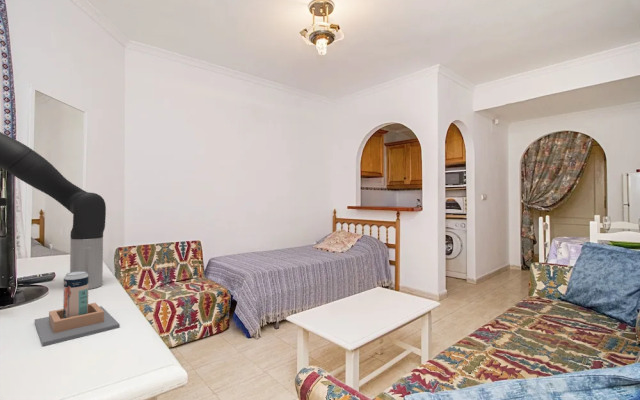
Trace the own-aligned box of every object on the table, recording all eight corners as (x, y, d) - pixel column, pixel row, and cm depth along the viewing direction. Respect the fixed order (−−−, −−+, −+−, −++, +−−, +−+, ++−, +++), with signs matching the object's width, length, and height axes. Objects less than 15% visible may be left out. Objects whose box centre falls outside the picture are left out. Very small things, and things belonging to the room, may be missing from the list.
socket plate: (34, 322, 78) (34, 309, 78) (101, 309, 88) (101, 297, 88) (42, 346, 66) (42, 330, 66) (119, 327, 76) (119, 313, 76)
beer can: (67, 319, 78) (68, 271, 78) (90, 316, 80) (91, 270, 80) (59, 326, 74) (60, 276, 74) (84, 324, 75) (85, 274, 75)
